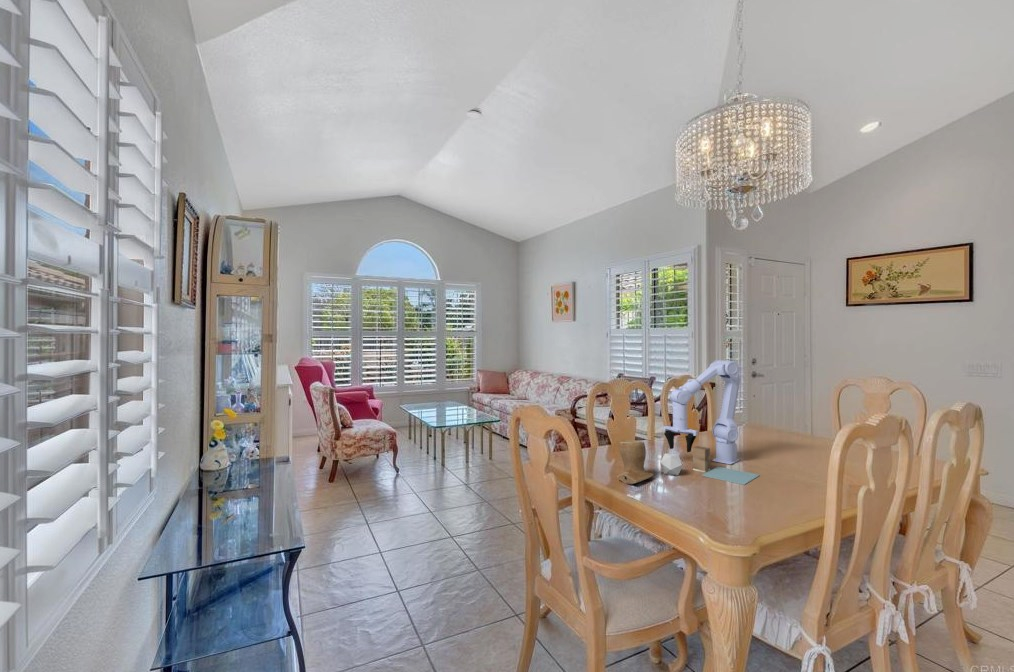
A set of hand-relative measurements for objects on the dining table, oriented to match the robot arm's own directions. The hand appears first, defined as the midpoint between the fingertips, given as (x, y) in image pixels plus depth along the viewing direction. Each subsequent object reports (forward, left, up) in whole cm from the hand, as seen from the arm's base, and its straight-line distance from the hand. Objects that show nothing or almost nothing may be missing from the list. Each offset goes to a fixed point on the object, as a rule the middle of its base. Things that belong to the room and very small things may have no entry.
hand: (680, 450), depth 199 cm
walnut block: (0, +9, -6) cm, 11 cm away
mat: (0, +21, -6) cm, 22 cm away
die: (+14, +3, -7) cm, 16 cm away
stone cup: (+31, -4, -7) cm, 32 cm away
